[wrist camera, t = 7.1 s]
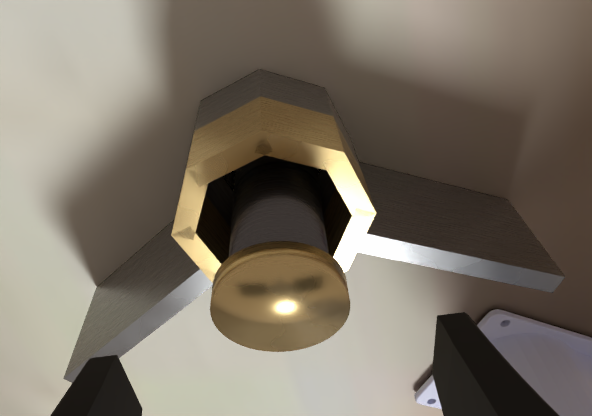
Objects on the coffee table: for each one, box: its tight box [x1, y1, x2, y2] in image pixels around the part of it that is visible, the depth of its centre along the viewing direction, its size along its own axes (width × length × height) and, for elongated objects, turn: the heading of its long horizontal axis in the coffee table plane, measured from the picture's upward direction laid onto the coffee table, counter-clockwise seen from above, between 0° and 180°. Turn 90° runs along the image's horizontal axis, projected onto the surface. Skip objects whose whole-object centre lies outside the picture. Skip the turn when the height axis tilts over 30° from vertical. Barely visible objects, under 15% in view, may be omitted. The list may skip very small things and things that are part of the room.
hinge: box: [64, 69, 565, 383], centre depth 20 cm, size 16×13×5 cm
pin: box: [210, 155, 350, 352], centre depth 17 cm, size 4×4×8 cm
